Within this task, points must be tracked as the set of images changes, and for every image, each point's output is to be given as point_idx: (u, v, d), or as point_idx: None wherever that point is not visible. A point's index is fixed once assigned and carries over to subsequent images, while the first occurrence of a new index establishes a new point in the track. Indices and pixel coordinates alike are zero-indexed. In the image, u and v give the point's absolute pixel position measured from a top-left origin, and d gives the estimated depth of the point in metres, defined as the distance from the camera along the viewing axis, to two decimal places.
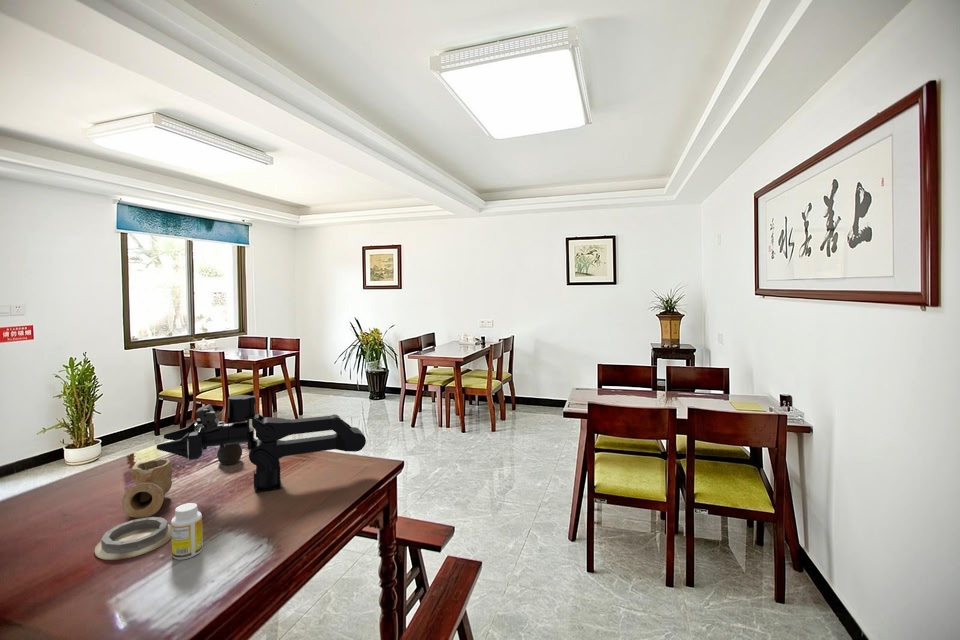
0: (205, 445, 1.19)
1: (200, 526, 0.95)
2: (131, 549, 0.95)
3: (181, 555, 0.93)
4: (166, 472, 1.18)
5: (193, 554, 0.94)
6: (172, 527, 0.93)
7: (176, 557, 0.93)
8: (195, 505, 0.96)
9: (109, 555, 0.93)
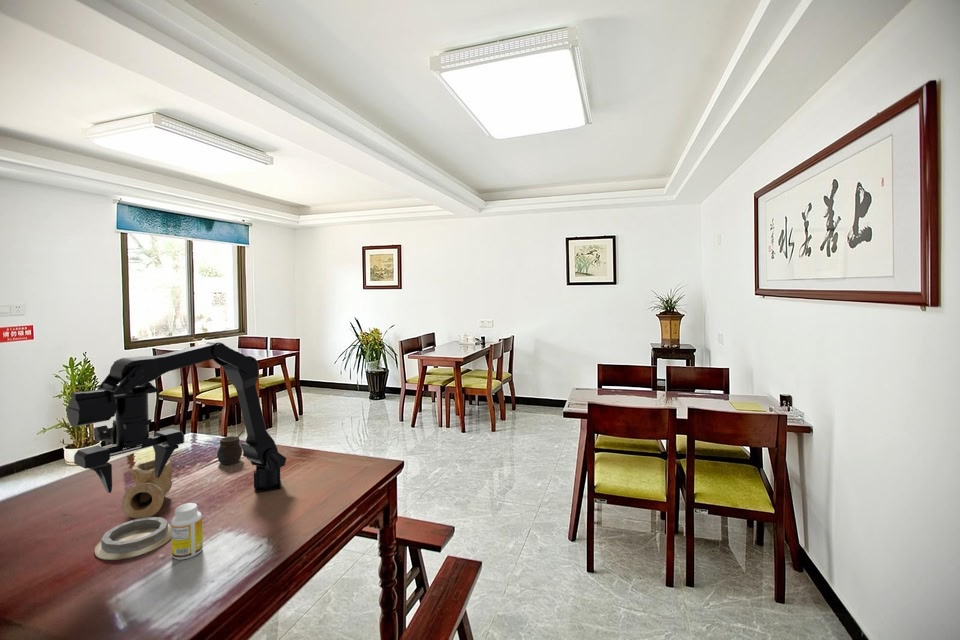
0: (123, 444, 0.95)
1: (200, 526, 0.95)
2: (131, 549, 0.95)
3: (181, 555, 0.93)
4: (167, 472, 1.18)
5: (193, 554, 0.94)
6: (172, 527, 0.93)
7: (176, 557, 0.93)
8: (195, 505, 0.96)
9: (109, 555, 0.93)
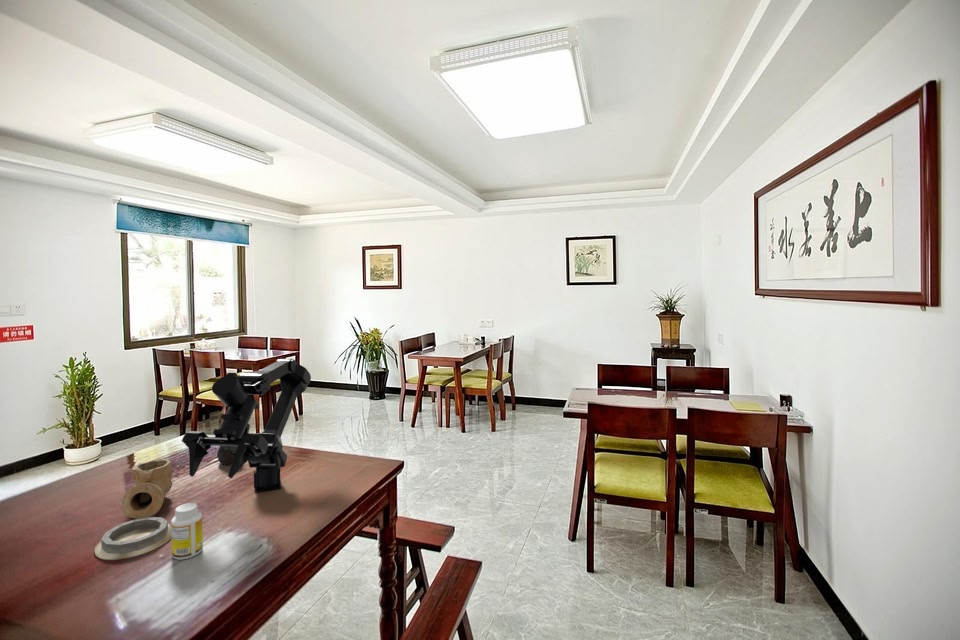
0: None
1: (200, 526, 0.95)
2: (131, 549, 0.95)
3: (181, 555, 0.93)
4: (167, 472, 1.18)
5: (193, 554, 0.94)
6: (172, 527, 0.93)
7: (176, 557, 0.93)
8: (195, 505, 0.96)
9: (109, 555, 0.93)
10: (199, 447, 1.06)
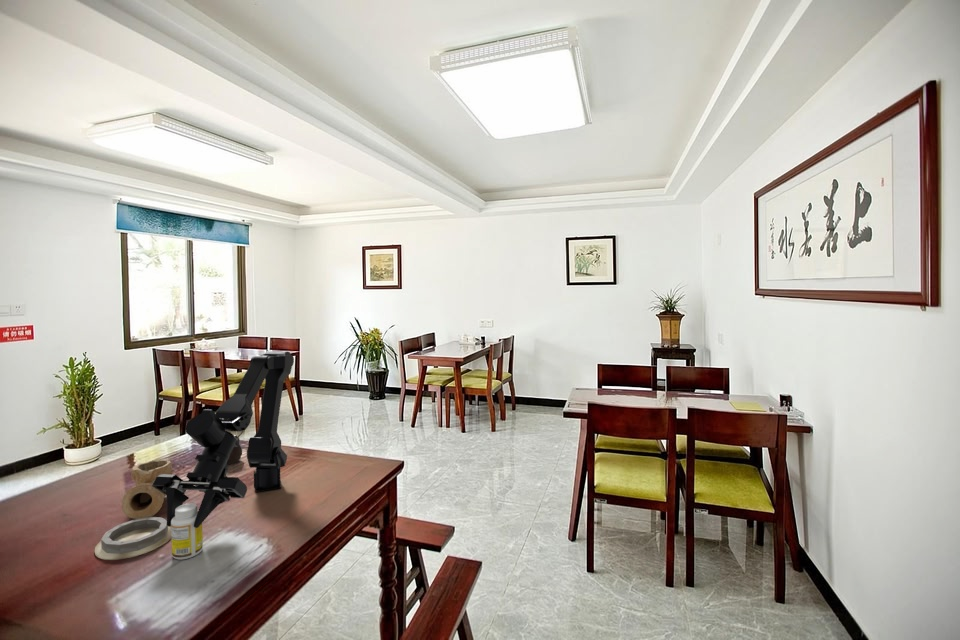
0: None
1: (200, 526, 0.95)
2: (131, 549, 0.95)
3: (181, 555, 0.93)
4: (167, 473, 1.18)
5: (193, 554, 0.94)
6: (172, 527, 0.93)
7: (176, 557, 0.93)
8: (195, 505, 0.96)
9: (109, 555, 0.93)
10: (178, 493, 0.97)
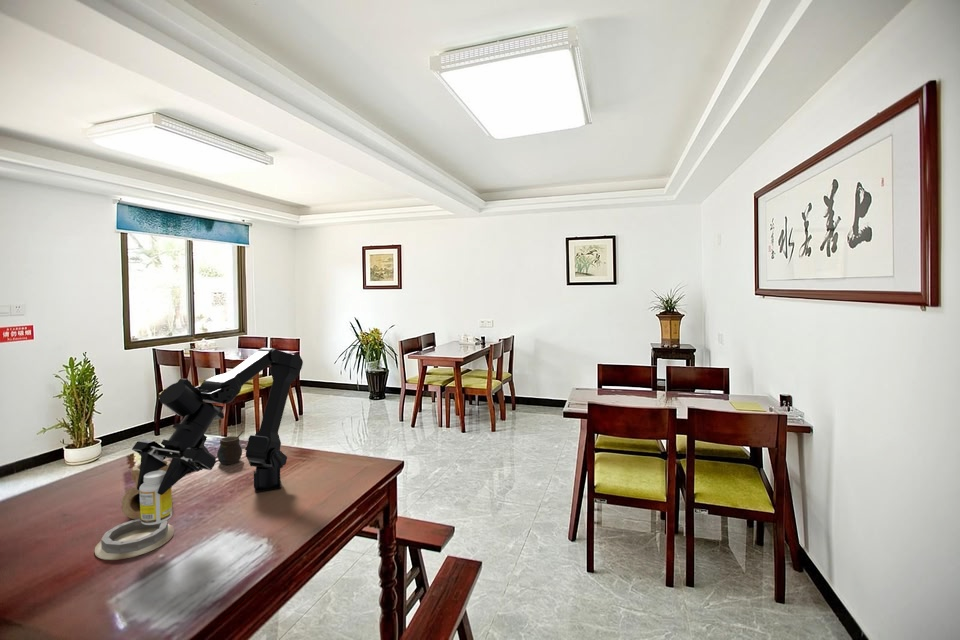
0: None
1: (167, 494, 0.96)
2: (131, 549, 0.95)
3: (146, 520, 0.94)
4: None
5: (158, 521, 0.94)
6: None
7: (142, 522, 0.94)
8: (163, 473, 0.96)
9: (109, 555, 0.93)
10: (153, 459, 0.99)
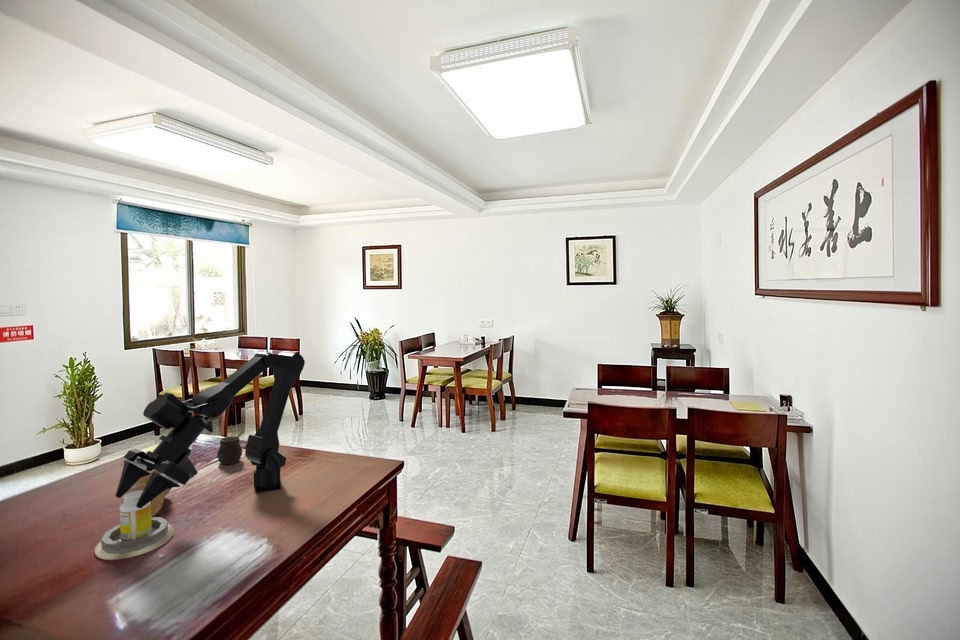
0: None
1: (143, 515, 0.98)
2: (131, 549, 0.95)
3: (123, 539, 0.97)
4: None
5: None
6: None
7: (121, 540, 0.98)
8: None
9: (109, 555, 0.93)
10: (134, 467, 1.03)
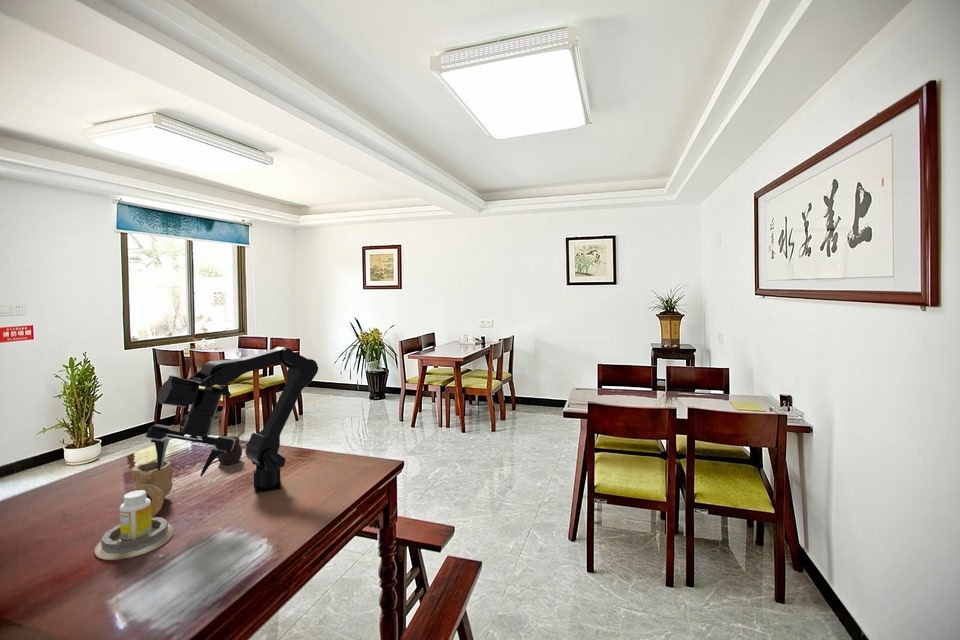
0: None
1: (143, 515, 0.98)
2: (131, 549, 0.95)
3: (123, 539, 0.97)
4: (167, 474, 1.17)
5: None
6: None
7: (121, 540, 0.98)
8: (142, 493, 0.99)
9: (109, 555, 0.93)
10: (165, 443, 1.08)
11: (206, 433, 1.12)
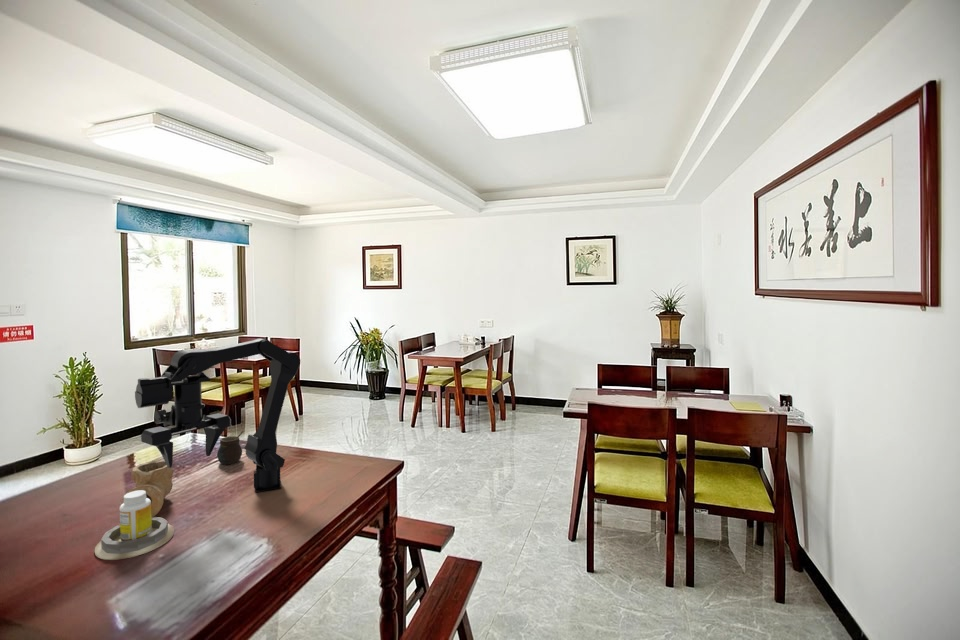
0: (182, 425, 1.09)
1: (143, 515, 0.98)
2: (131, 549, 0.95)
3: (123, 539, 0.97)
4: (167, 474, 1.17)
5: None
6: None
7: (121, 540, 0.98)
8: (142, 493, 0.99)
9: (109, 555, 0.93)
10: None
11: None
